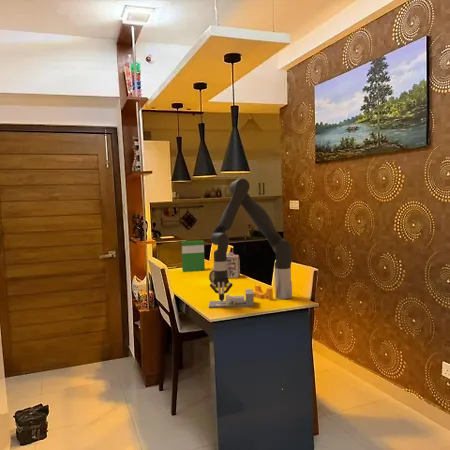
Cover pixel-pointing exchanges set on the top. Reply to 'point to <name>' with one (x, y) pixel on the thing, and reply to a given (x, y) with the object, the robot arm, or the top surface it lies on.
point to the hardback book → (192, 256)
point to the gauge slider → (234, 299)
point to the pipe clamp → (260, 294)
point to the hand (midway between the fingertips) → (221, 300)
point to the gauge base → (247, 303)
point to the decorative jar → (233, 265)
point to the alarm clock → (211, 276)
